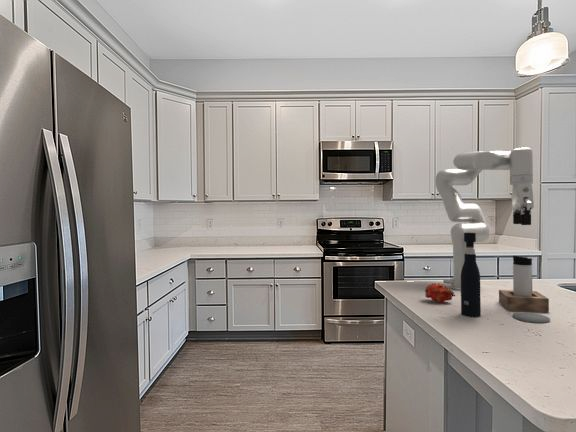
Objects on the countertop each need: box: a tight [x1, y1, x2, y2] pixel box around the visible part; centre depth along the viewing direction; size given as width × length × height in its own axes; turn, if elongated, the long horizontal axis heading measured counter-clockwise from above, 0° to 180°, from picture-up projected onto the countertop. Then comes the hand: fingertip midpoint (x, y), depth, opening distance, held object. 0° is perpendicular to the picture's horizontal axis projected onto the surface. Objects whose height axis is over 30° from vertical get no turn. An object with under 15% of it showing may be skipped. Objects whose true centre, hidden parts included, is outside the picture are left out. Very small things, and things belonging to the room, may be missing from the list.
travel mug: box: [512, 255, 533, 297], centre depth 142 cm, size 6×7×20 cm
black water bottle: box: [460, 233, 482, 318], centre depth 133 cm, size 6×6×30 cm
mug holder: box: [498, 289, 550, 313], centre depth 142 cm, size 13×13×5 cm
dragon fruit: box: [424, 282, 456, 304], centre depth 151 cm, size 8×8×12 cm
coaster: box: [511, 311, 551, 324], centre depth 127 cm, size 11×11×1 cm
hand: (521, 224), depth 141 cm, fingers open, 9 cm apart
